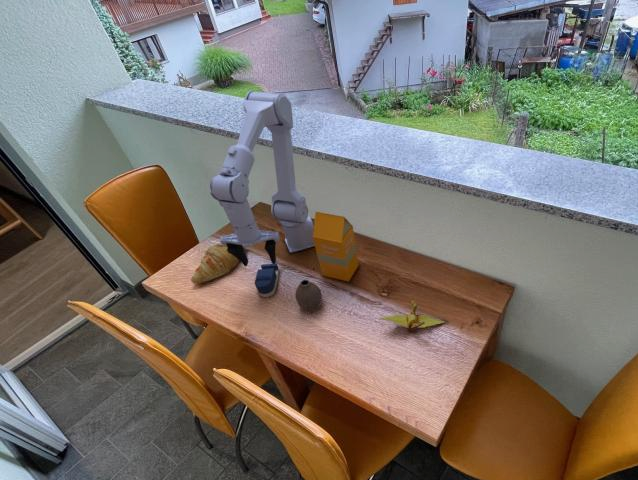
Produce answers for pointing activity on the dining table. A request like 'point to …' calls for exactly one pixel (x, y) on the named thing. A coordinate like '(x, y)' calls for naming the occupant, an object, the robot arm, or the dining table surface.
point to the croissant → (214, 264)
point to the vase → (308, 295)
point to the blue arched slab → (267, 279)
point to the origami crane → (413, 319)
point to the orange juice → (335, 246)
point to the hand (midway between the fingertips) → (260, 262)
